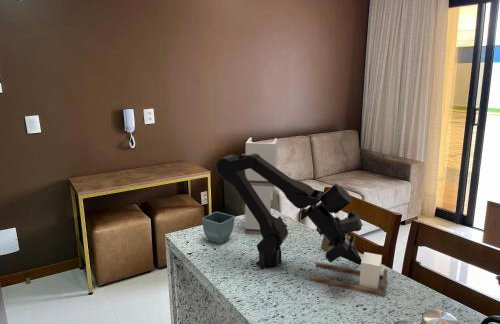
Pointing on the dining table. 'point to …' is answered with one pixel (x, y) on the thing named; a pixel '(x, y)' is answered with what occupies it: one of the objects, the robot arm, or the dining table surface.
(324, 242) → the olive bell shape
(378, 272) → the cream block
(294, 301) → the dining table surface
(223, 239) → the flower pot
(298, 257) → the dining table surface
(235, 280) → the dining table surface
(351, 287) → the board
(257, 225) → the tall white pillar
